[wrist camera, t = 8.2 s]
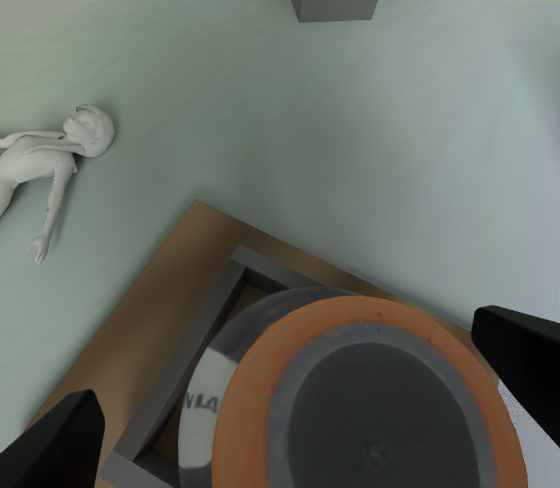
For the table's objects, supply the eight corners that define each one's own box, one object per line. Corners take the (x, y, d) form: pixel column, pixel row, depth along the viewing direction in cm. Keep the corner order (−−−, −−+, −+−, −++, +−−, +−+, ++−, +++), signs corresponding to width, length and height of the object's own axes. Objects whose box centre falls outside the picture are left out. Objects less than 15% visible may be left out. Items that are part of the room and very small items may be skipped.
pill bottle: (189, 439, 13) (-30, 626, 3) (257, 313, 16) (268, 169, 5) (319, 516, 12) (639, 1127, 2) (369, 371, 15) (632, 337, 5)
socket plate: (488, 350, 17) (546, 341, 14) (419, 718, 11) (490, 857, 8) (198, 209, 19) (187, 171, 16) (19, 459, 13) (-59, 482, 10)
